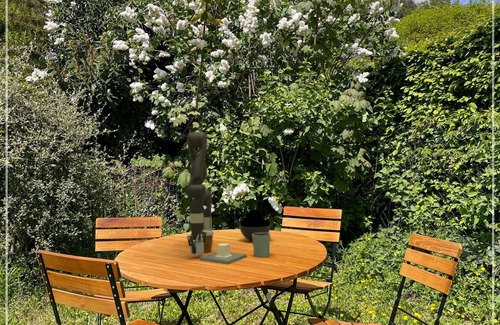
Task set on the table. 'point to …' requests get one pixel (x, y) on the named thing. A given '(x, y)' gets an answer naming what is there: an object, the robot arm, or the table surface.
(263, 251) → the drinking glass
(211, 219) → the robot arm
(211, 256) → the board
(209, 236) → the disposable coffee cup
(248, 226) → the coal bowl
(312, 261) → the table surface
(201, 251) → the blue grey block
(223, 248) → the cream block
